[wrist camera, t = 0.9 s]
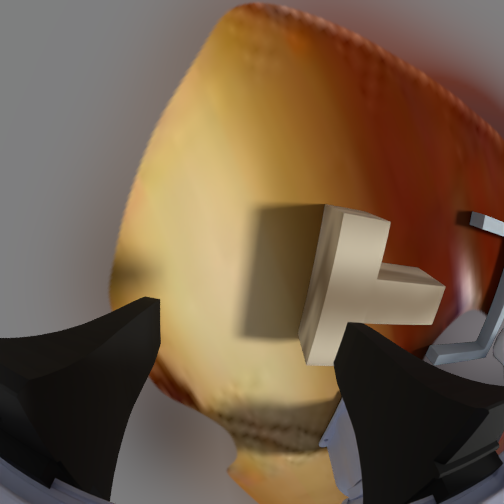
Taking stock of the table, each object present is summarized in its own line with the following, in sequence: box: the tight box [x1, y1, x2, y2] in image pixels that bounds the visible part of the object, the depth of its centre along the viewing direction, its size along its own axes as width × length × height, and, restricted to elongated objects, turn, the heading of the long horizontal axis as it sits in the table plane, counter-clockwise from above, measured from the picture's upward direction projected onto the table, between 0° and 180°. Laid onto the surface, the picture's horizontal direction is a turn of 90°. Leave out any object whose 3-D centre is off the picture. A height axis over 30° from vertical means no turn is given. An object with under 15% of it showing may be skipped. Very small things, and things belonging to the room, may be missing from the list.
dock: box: [426, 211, 504, 365], centre depth 19 cm, size 14×9×2 cm, turn 172°
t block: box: [298, 204, 445, 366], centre depth 18 cm, size 10×9×4 cm
